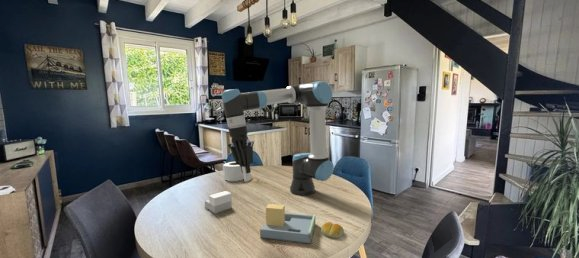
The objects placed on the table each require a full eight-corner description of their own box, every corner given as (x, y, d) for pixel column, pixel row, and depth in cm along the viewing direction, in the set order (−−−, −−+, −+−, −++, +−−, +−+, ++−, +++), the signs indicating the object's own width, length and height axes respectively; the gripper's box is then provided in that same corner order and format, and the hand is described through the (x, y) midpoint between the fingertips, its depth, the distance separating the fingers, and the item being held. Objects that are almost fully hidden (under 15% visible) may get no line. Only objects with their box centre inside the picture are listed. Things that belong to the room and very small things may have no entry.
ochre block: (266, 224, 102) (265, 207, 101) (269, 220, 106) (268, 203, 105) (282, 226, 100) (282, 209, 99) (284, 222, 104) (284, 205, 103)
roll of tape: (228, 174, 184) (228, 161, 183) (248, 175, 183) (248, 161, 181) (220, 181, 169) (220, 166, 168) (242, 181, 167) (242, 166, 166)
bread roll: (325, 226, 106) (325, 217, 105) (345, 231, 101) (345, 222, 100) (317, 235, 99) (317, 225, 98) (338, 241, 94) (338, 231, 93)
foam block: (221, 203, 133) (221, 188, 132) (232, 208, 125) (231, 193, 125) (205, 208, 126) (204, 192, 125) (214, 214, 119) (214, 198, 118)
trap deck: (260, 238, 96) (260, 227, 96) (272, 219, 112) (271, 210, 111) (310, 244, 92) (310, 232, 91) (315, 223, 107) (315, 214, 107)
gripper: (219, 129, 102) (230, 183, 105) (242, 126, 96) (254, 183, 98) (232, 126, 109) (242, 177, 111) (254, 123, 102) (265, 177, 104)
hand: (247, 180), depth 105 cm, fingers closed
